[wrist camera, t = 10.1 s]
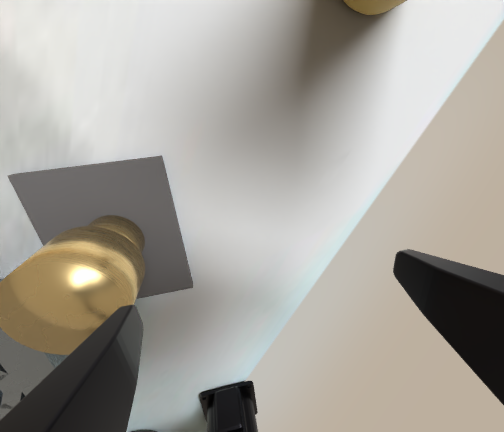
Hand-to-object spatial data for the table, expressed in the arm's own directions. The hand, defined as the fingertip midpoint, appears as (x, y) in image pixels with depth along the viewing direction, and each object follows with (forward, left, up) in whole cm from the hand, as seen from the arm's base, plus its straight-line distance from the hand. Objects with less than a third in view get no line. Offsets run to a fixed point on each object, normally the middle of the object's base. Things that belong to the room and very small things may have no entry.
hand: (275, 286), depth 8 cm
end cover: (-3, +10, -12) cm, 16 cm away
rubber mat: (-3, +10, -13) cm, 17 cm away
